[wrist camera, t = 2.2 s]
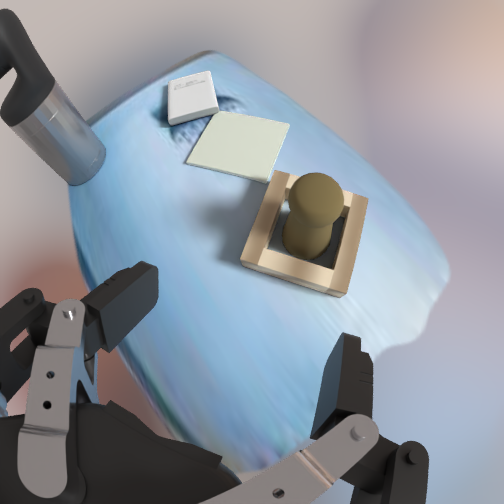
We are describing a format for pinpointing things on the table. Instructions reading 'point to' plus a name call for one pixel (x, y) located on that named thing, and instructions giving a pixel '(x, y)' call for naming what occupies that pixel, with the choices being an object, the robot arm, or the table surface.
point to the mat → (239, 145)
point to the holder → (296, 269)
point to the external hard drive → (191, 98)
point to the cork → (312, 215)
